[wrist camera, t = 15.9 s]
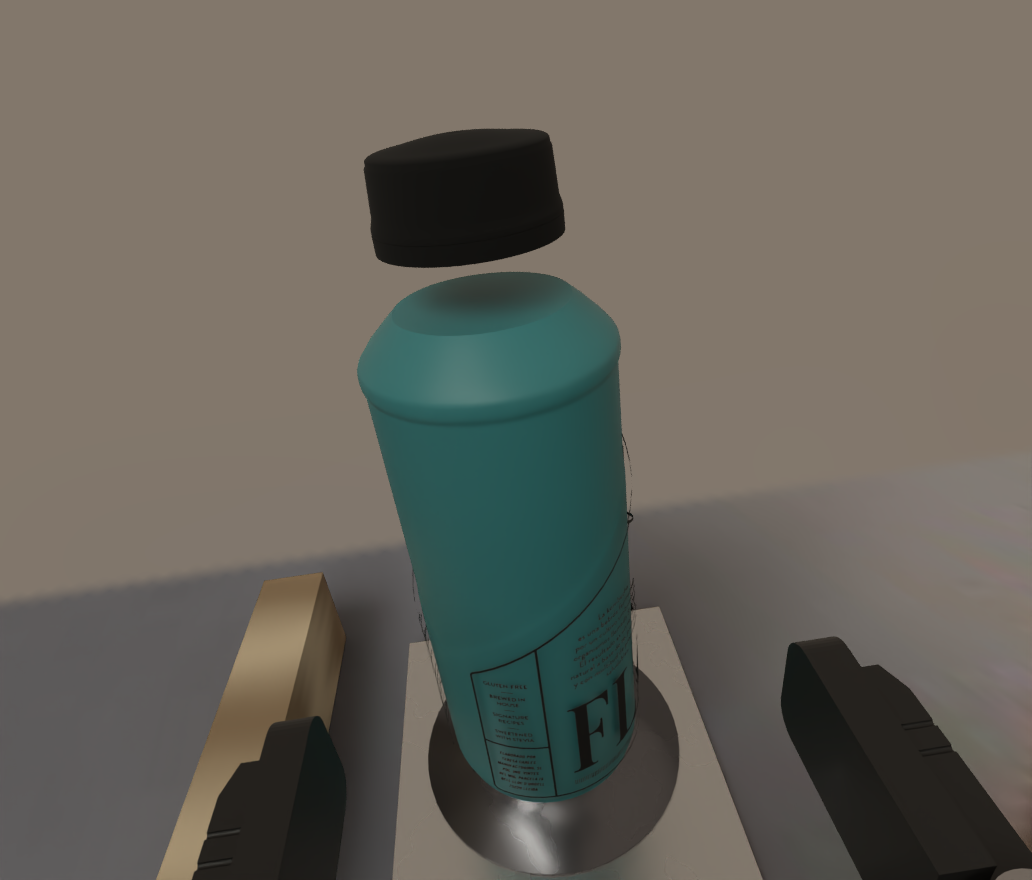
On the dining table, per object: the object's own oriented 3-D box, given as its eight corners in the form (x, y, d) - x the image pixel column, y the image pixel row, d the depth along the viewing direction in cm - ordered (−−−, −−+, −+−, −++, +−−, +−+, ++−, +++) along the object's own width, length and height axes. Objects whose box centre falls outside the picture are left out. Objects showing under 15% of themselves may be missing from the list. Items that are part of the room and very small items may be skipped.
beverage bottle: (595, 877, 19) (522, 155, 9) (420, 782, 22) (216, 169, 12) (667, 704, 24) (673, 99, 14) (513, 646, 27) (424, 120, 17)
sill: (272, 1033, 17) (221, 971, 15) (181, 1048, 17) (117, 987, 15) (346, 637, 29) (322, 572, 27) (291, 644, 29) (264, 580, 27)
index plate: (762, 893, 19) (764, 881, 19) (392, 950, 19) (387, 939, 18) (659, 616, 28) (659, 604, 28) (412, 652, 28) (409, 641, 28)
